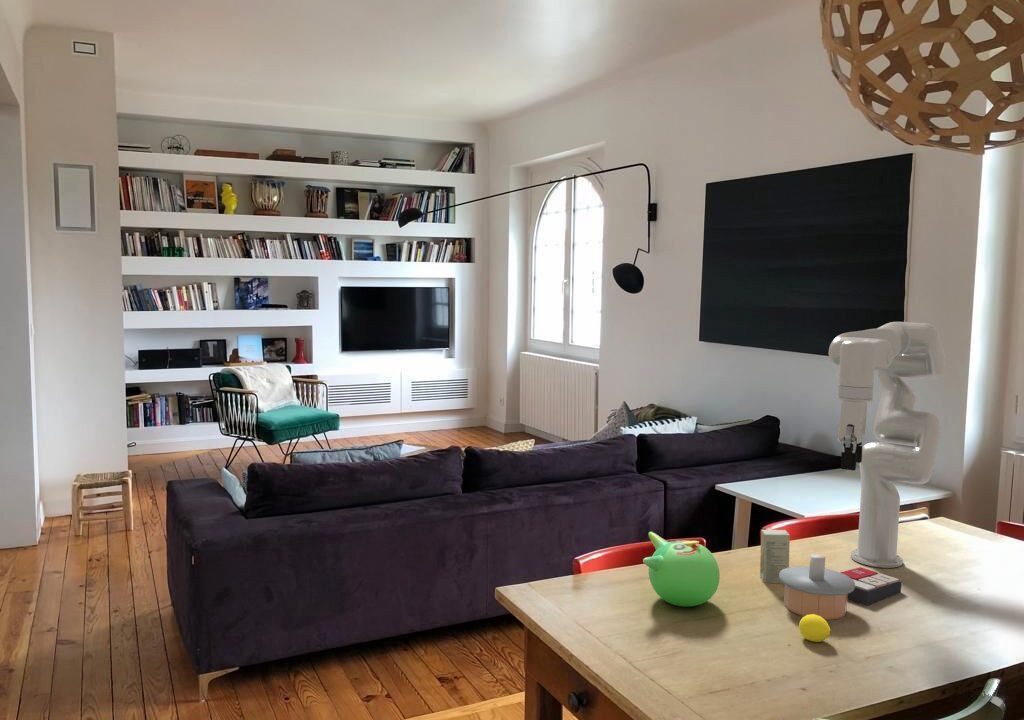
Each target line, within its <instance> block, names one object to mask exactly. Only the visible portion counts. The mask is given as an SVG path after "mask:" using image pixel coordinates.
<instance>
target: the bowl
mask: <svg viewBox="0 0 1024 720" xmlns="http://www.w3.org/2000/svg"><path fill="white" fill-rule="evenodd" d="M783 585H784V588H783V589H784V591H783V604H784V607H785V608H786V609H787V610H788V611H790V612H791V613H793V614H796V615H798V616H801V617H804V616H806V615H810V614H815V615H818V616H821V617H822V618H823V619H824V620H826V621H830V620H838V619H839V620H840V619H841V618H844V617H845V616H846V615H847V614H846V613H847V611H848V601H849V600H848V594H844V595H833V596H830V595H817V594H811V593H806V592H802V591H798V590H795V589H793V588H790V587H788V586H786V585H785V584H783Z"/></svg>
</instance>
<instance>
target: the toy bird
mask: <svg viewBox="0 0 1024 720" xmlns="http://www.w3.org/2000/svg"><path fill="white" fill-rule="evenodd" d="M648 538H649V540H650V542H651V543H652V544H653V545H652V546H653V547H654V548H655V551H654V552H653V554H652V555H651V556H647V557H644V558H643V559H642V563H643V564H644V565H646V567H648V578H649V581H650V584H651V587H652V588H653V591H654V592H655V593H656V595H657V596H658V597H660V598H661V599H662V600H663V601H665V602H666V603H669V604H670V605H674V606H678V607H685V608H686V607H688V608H690V607H695V606H699V605H702V604H704V603H706V602H708V601H709V600H710V599H711V598H713V596H714V595H715V593H716V592H717V590H718V587H719V584H720V580H721V579H720V578H721V577H720V576H721V575H720V568H719V565H718V562H717V560H716V557H715V556H714V555H713V553H712V552H711V551H710V550H709V549H708V548H707V547H706V546H704V545H702V544H699V543H700V541H699V540H683V539H682V540H681V539H677V540H673V541H667V540H666V539H664V538H662V537H661V535H660V536H659V534H657V533H655V532H653V531H649V532H648Z"/></svg>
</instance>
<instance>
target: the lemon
mask: <svg viewBox="0 0 1024 720" xmlns="http://www.w3.org/2000/svg"><path fill="white" fill-rule="evenodd" d="M827 621H828V620H824V619H823V618H822V617H821V616H818V615H815V614H810V615H806V616H802V618H801V619H800V621H799V624H798V629H799V631H800V634H801V636H802V637H803V638H804V639H805V640H807V641H809V642H813V643H819V642H823V641H825V640H827V638H828V637H829V636H830V634H831V633H832V630H831V628H830V625H829V624H828V622H827Z"/></svg>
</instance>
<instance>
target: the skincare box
mask: <svg viewBox="0 0 1024 720" xmlns="http://www.w3.org/2000/svg"><path fill="white" fill-rule="evenodd" d="M760 535H761V536H760V563H759V564H760V565H759V567H760V569H759V574H760V575H759V577H760V579H761V581H762V583H767V584H768V583H770V584H772V583H773V584H774V583H775V584H783V583H782V582H781V581H780V580H779V573H780V571H781V570H783V569H785V568H789V567H790V542H791V541H790V540H791V538H790V537H791V536H790V534H789V532H788V531H787V530H786V529H760Z"/></svg>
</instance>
